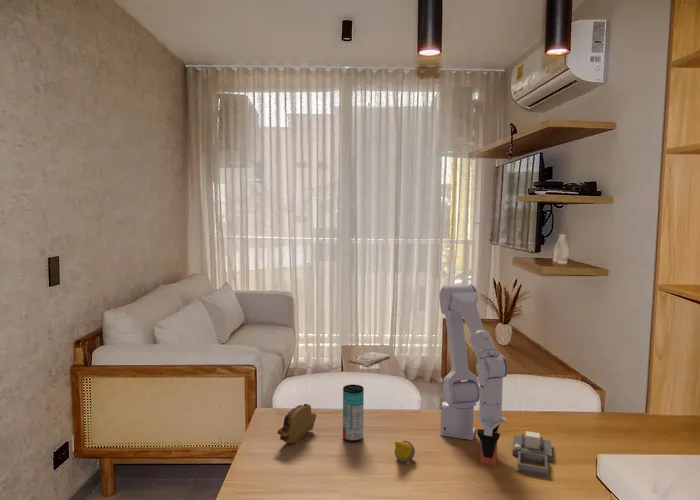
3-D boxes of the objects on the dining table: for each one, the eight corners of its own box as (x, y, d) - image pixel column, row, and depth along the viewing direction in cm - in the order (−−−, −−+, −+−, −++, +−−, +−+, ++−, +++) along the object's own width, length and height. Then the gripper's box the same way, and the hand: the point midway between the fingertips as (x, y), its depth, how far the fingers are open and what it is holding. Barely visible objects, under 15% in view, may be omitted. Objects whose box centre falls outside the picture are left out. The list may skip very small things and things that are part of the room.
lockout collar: (517, 471, 132) (517, 464, 131) (517, 458, 138) (518, 451, 138) (547, 476, 129) (547, 469, 129) (546, 462, 136) (546, 455, 136)
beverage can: (357, 432, 153) (357, 383, 152) (366, 440, 148) (367, 390, 146) (339, 435, 151) (339, 386, 149) (348, 444, 145) (348, 393, 144)
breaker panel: (512, 454, 140) (512, 446, 140) (513, 440, 149) (513, 432, 148) (552, 461, 137) (552, 452, 137) (550, 445, 145) (550, 438, 145)
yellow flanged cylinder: (420, 462, 137) (406, 448, 130) (402, 468, 138) (387, 455, 131) (416, 443, 140) (402, 429, 134) (398, 449, 142) (384, 435, 135)
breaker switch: (525, 447, 141) (525, 435, 141) (525, 442, 144) (525, 431, 144) (539, 449, 140) (539, 437, 140) (539, 444, 143) (539, 433, 143)
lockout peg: (480, 462, 136) (481, 437, 135) (481, 455, 140) (482, 430, 139) (495, 464, 135) (496, 439, 134) (496, 457, 139) (497, 432, 138)
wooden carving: (304, 426, 157) (304, 394, 156) (317, 429, 155) (317, 397, 154) (274, 450, 142) (273, 415, 141) (288, 453, 140) (288, 418, 139)
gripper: (505, 413, 128) (503, 466, 129) (507, 393, 141) (505, 440, 143) (476, 409, 130) (474, 461, 131) (481, 389, 144) (479, 436, 145)
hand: (489, 450), depth 137 cm, fingers open, 7 cm apart
